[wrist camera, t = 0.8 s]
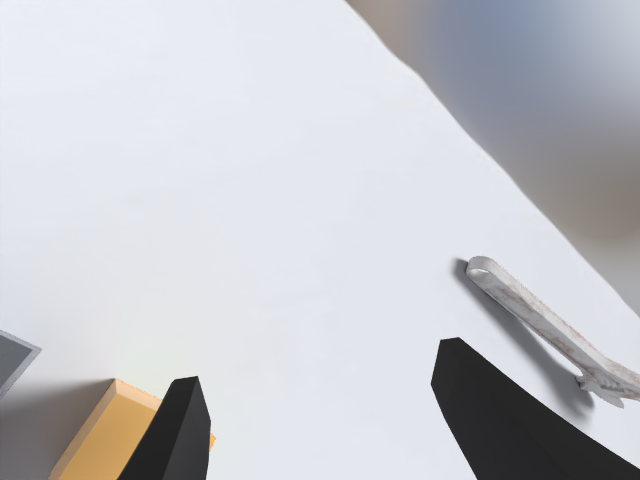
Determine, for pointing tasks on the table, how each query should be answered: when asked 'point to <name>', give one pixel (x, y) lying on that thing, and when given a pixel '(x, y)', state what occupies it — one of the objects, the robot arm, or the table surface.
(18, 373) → the square hole plate
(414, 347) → the table surface
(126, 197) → the table surface
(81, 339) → the table surface
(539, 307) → the wrench
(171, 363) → the table surface
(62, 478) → the square block
